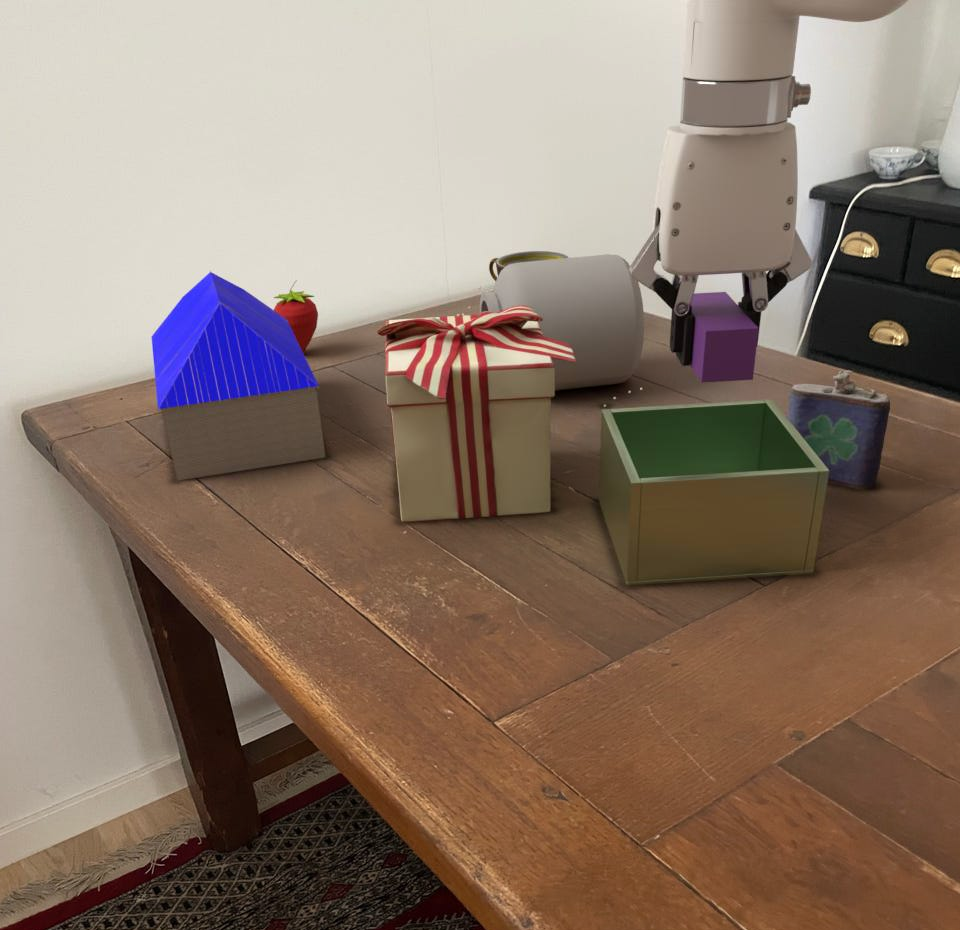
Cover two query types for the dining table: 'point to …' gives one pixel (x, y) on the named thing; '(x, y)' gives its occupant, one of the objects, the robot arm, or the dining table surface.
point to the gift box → (471, 413)
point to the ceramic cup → (522, 259)
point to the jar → (579, 314)
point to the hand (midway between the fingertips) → (712, 356)
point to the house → (233, 384)
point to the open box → (709, 492)
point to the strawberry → (299, 315)
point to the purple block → (722, 339)
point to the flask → (842, 428)
